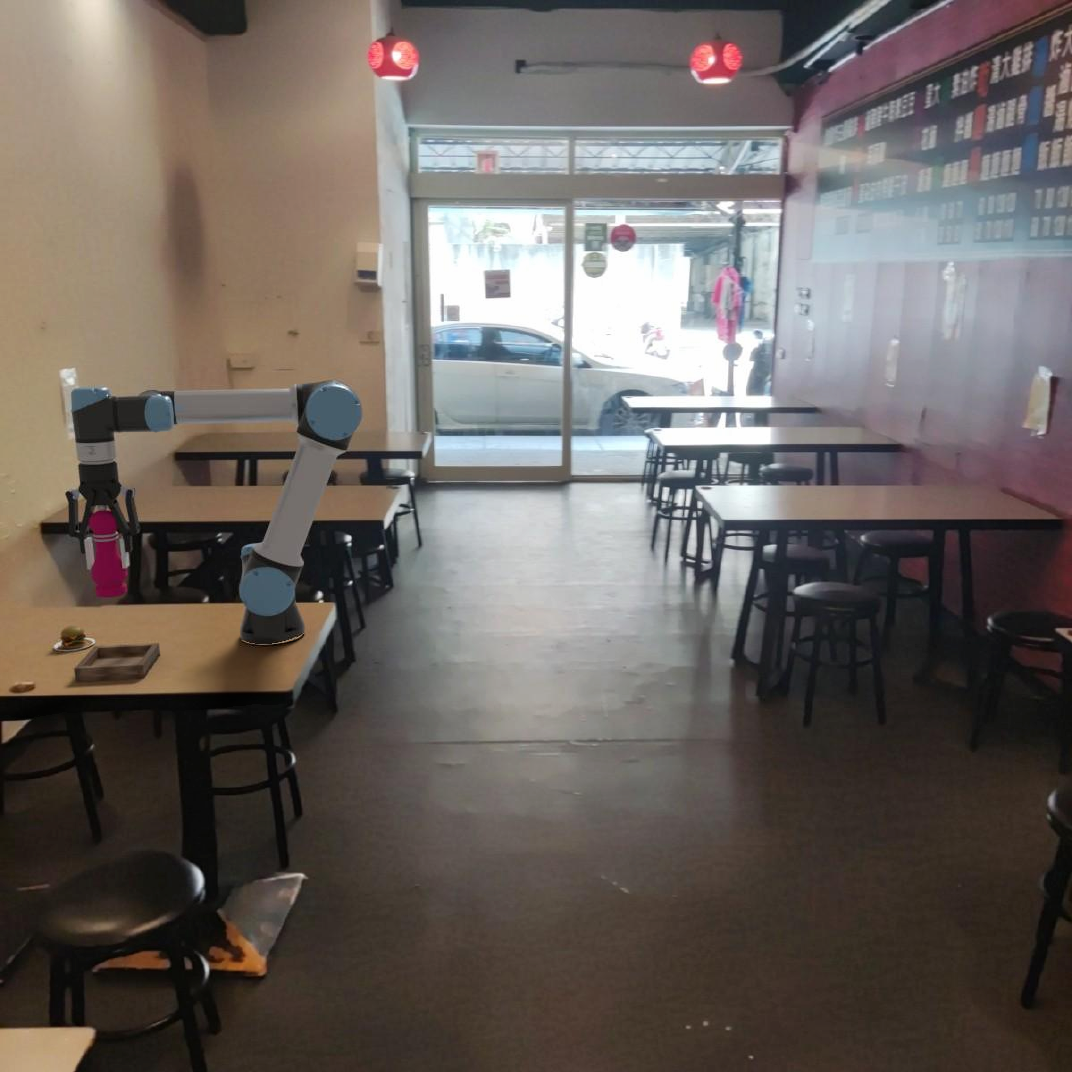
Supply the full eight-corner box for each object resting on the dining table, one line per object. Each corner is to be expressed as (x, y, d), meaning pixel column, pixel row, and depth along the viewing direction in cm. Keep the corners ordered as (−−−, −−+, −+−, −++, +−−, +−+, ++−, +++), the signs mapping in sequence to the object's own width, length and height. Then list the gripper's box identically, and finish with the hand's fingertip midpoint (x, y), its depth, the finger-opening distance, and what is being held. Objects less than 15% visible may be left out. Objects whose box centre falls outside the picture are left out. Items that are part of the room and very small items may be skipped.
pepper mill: (135, 589, 210) (126, 500, 206) (118, 598, 204) (109, 506, 199) (104, 588, 211) (95, 499, 207) (86, 597, 204) (76, 506, 200)
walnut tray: (160, 655, 219) (158, 643, 218) (144, 678, 205) (143, 664, 205) (96, 658, 217) (94, 646, 216) (75, 681, 204) (74, 668, 203)
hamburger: (105, 637, 233) (103, 616, 232) (99, 653, 222) (96, 631, 221) (51, 643, 230) (48, 621, 229) (42, 659, 219) (39, 636, 217)
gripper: (41, 465, 196) (55, 573, 201) (140, 463, 198) (151, 570, 204) (54, 459, 203) (67, 564, 208) (150, 457, 206) (159, 561, 211)
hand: (108, 567), depth 206 cm, fingers closed on pepper mill, 6 cm apart
